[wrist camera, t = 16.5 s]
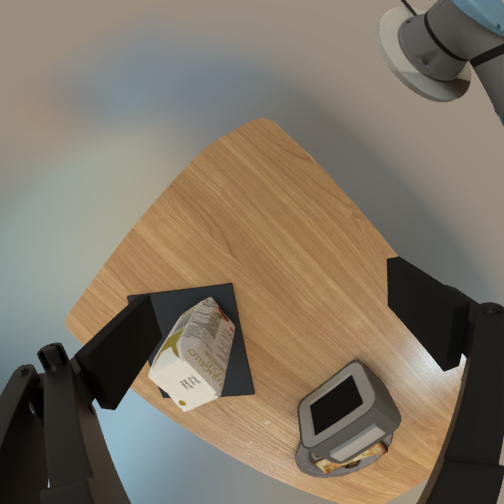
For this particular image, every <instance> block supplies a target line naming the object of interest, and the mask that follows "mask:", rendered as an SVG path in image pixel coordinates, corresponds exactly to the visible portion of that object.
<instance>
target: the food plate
mask: <svg viewBox="0 0 504 504" xmlns="http://www.w3.org/2000/svg"><path fill="white" fill-rule="evenodd" d="M392 438H393V433H392V434H390V435H389V436H388V437H386V438H385V439H383V440H382V441H380V442H379V443H377V444H376V445H374V446H373V447H371V448H369V449H368V450H366V451H365V452H363V453H361V454H360V455H358V456H357V457H355V458H353V459H351V460H350V461H348V462H346V463H343V464H336V463H333V462H330V461H328V460H326V459H324V458H322V457H320V456H318V455H316V454H314V453H312V452H310V451H309V450H307V449H305V448H303V446H302V444H301V446H300V448H299V451H298V452H297V454H296V461H295V462H296V464H297V466H298V467H299V469H300V471H301V472H302V473H305V474H308V475H309V476H313V477H317V478H328V477H337V476H338V477H340V476H341V475H342V476H344V475H347V474H350V473H353V472H355V471H358V469H359V470H360V469H362V468H364V467H367V466H368V465H370V464H372V463H373V462H375V461H376V460H377V459H379V457H380V456H381V455H383V454H386V452H388V447H389V445H390V444H391V442H392Z"/></svg>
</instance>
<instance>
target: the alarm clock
mask: <svg viewBox="0 0 504 504" xmlns="http://www.w3.org/2000/svg"><path fill="white" fill-rule="evenodd" d="M297 413H298V421H299V430H300V439H301V444H302V446H303V448H305V449H307V450H309V451H310V452H312V453H314V454H316V455H318V456H320V457H322V458H324V459H326V460H328V461H330V462H333V463H336V464H343V463H346V462H348V461H350V460H351V459H353V458H355V457H357V456H358V455H360V454H361V453H363V452H365V451H366V450H368V449H369V448H371V447H373V446H374V445H376V444H377V443H379V442H380V441H382V440H383V439H385V438H386V437H388V436H389V435H390V434H392V433H393V432H394V431H395V430H396V429H397V428H398V427H399V425H400V422H401V415H400V413H399V410H398V408H397V407H396V405H395V403H394V401H393V399H392V397H391V395H390V393H389V391H388V390H387V388H386V386H385V384H384V383H383V382H382V381H381V380H380V379H379V378H378V377H376V376H375V375H374V374H373V373H372V372H371V371H370V370H369V369H368V368H367V367H366V366H365V365H363V364H362V363H361V362H360V361H352V362H351V363H349V364H347V365H346V366H345V367H344V368H342V369H341V370H340V371H339V372H337V373H336V374H335V375H333V376H332V377H331V378H330V379H328V380H327V381H326V382H324V383H323V384H322V385H320V386H319V387H318V388H316V389H315V390H314V391H312V392H311V393H310V394H308V395H307V396H306V397H305V398H304V399H303V400H302V401H301V402H300V404H299V406H298V411H297Z"/></svg>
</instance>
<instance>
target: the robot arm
mask: <svg viewBox="0 0 504 504" xmlns="http://www.w3.org/2000/svg"><path fill="white" fill-rule="evenodd" d="M401 1H402V2H403V3H404V4H405V6H406V7H407V8H408V9H409V10H410V12H411V13H412V14H413V15H414V16H413V17H410V18H408V19H406V20H405V21H404V22H403V23H402V24H401V25H400V27H399V29H398V41H399V45H400V47H401V50H402V52H403V53H404V55H405V56H406V58H407V59H408V61H409V62H410V63H411V64H412V65H413V66H414V67H415V68H416V69H417V70H418V71H419V72H420V73H422V74H423V75H425V76H426V77H428V78H430V79H432V80H434V81H438V82H449V81H451V80H453V79H455V78H457V77H458V76H459V75H460V74H461V72H463V71H464V70H465V69H463V68H464V67H465V65H466V64H467V62H468V61H469V62H470V64H471V65H472V67H473V69H474V70H475V72H476V74H477V76H478V77H479V79H480V81H481V83H482V84H483V86H484V88H485V90H486V92H487V94H488V96H489V98H490V100H491V102H492V104H493V106H494V109H495V112H496V113H497V115H498V116H499V118H500V120H501V122H502V124H503V126H504V4H503V2H502V1H501V0H438V1H437V2H436V3H435V4H434V5H433V6H432V7H431V8H430V9H429V10H428V11H427V12H426V13H423V14H420V15H417V13H416V12H415V11H414V10H413V9H412V7H411V6H410V5H409V4H408V3H407V2H406V1H405V0H401ZM387 281H388V306H389V308H390V309H391V310H392V311H393V312H394V313H395V314H396V315H397V317H398V318H399V319H400V320H401V321H402V322H403V323H404V325H405V326H406V327H407V328H408V329H409V330H410V331H411V333H412V334H413V335H414V336H415V337H416V338H417V340H418V341H419V342H420V343H421V344H422V346H423V347H424V348H425V349H426V350H427V352H428V353H429V354H430V355H431V356H432V358H433V359H434V360H435V361H436V362H437V364H438V365H439V366H440V367H441V369H442V370H443V371H447V370H450V369H452V368H455V367H457V366H459V364H460V359H461V355H462V353H463V354H464V355H465V356H466V357H467V360H466V364H465V368H464V372H463V376H462V380H461V381H462V383H461V387H460V391H459V395H458V399H457V403H456V406H455V410H454V413H453V416H452V420H451V423H450V426H449V429H448V432H447V435H446V438H445V441H444V443H443V446H442V449H441V451H440V454H439V456H438V459H437V461H436V464H435V466H434V468H433V471H432V473H431V475H430V477H429V480H428V482H427V484H426V486H425V488H424V490H423V492H422V494H421V496H420V498H419V500H418V502H417V504H496V503H497V499H498V496H499V493H500V489H501V485H502V481H503V476H504V466H502V465H499V459H500V454H501V448H502V443H503V437H504V307H503V306H501V305H499V304H497V303H491V302H489V303H482V304H479V303H477V302H476V301H474V300H473V299H471V298H470V297H468V296H466V295H465V294H464V293H461V291H459V290H458V289H456V288H454V287H451V286H448V285H443V284H442V283H440V282H439V281H437V280H436V279H434V278H432V277H431V276H429V275H428V274H426V273H425V272H423V271H422V270H420V269H418V268H417V267H415V266H414V265H412V264H410V263H409V262H407V261H406V260H404V259H402V258H401V257H394V258H388V259H387ZM162 337H163V336H162V333H161V330H160V327H159V324H158V321H157V318H156V315H155V311H154V308H153V305H152V301H151V298H150V294H149V295H141V296H137V297H136V298H135V299H134V300H133V301H132V302H131V303H130V304H128V305H127V306H126V307H125V308H124V309H123V310H122V311H121V312H120V313H119V314H118V315H116V316H115V317H114V318H113V319H112V320H111V321H110V322H109V323H108V324H107V325H106V326H105V327H103V328H102V329H101V330H100V331H99V332H98V333H97V334H96V335H95V336H94V337H93V338H92V339H91V340H90V341H89V342H88V343H87V344H86V345H84V346H83V347H82V348H81V349H80V350H79V351H78V352H77V353H76V354H75V355H74V357H73V358H72V359H71V360H70V361H69V359H68V356H67V354H66V352H65V350H64V348H63V345H62V344H61V343H52V344H49V345H46V346H44V347H43V348H41V349H40V350H39V351H38V353H37V355H38V358H39V360H40V362H41V363H42V366H43V368H44V370H45V373H41V374H38V373H37V371H36V369H35V368H34V366H33V365H31V364H28V365H22V366H20V367H18V369H17V370H15V371H14V373H13V374H12V376H11V378H10V379H9V381H8V383H7V385H6V386H5V388H4V390H3V392H2V394H1V396H0V504H131V502H130V500H129V498H128V496H127V494H126V492H125V490H124V487H123V485H122V483H121V481H120V478H119V476H118V474H117V471H116V469H115V466H114V464H113V461H112V459H111V456H110V453H109V451H108V448H107V445H106V442H105V439H104V436H103V434H102V430H101V427H100V424H99V421H98V417H97V414H96V411H95V408H94V407H93V405H92V402H93V400H94V399H95V398H96V400H97V402H98V403H99V405H100V407H101V408H103V409H110V410H115V409H116V408H117V406H118V405H119V403H120V401H121V400H122V398H123V397H124V395H125V394H126V392H127V390H128V389H129V388H130V386H131V384H132V383H133V381H134V380H135V378H136V377H137V375H138V374H139V372H140V371H141V369H142V368H143V366H144V365H145V363H146V362H147V360H148V359H149V357H150V355H151V354H152V352H153V351H154V349H155V348H156V346H157V345H158V343H159V342H160V340H161V339H162ZM30 408H31V409H30ZM31 410H32V411H33V413H32V411H31ZM48 479H49V483H50V488H48Z"/></svg>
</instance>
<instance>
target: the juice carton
mask: <svg viewBox="0 0 504 504" xmlns="http://www.w3.org/2000/svg"><path fill="white" fill-rule="evenodd" d="M234 331H235V325H234V324H233V323H232V322H231V320H230V319H229V318H228V317H227V316H226V315H225V314H224V313H223V311H222V310H221V309H220V307H219V306H218V304H217V303H216V302H215V301H214V299H213V298H212V297H209V298H207V299H205V300H203V301H201V302H200V303H198V304H197V305H195V306H194V307H192V308H191V309H189V310H188V311H186V312H185V313H183V314H182V315H181V316H180V318H179V319H178V321H177V322H176V324H175V326H174V327H173V329H172V330H171V332H170V334H169V335H168V337H167V338H166V340H165V342H164V343H163V345H162V346H161V348H160V350H159V351H158V353H157V355H156V356H155V358H154V361H153V363H152V366H151V369H150V372H149V375H148V377H149V378H150V379H151V380H152V381H153V382H154V383H155V384H156V385H158V386H159V387H160V388H161V389H163V390H164V391H165V392H166V393H168V394H169V396H170V397H171V398H172V399H173V401H174V402H175V403H176V404H177V405H178V406H179V407H180V408H181V409H182V411H183V412H185V411H191V410H193V409H195V408H196V407H198V406H201V405H203V404H205V403H207V402H210V401H213V400H216V399H217V397H219V396H221V392H222V389H223V384H224V380H225V375H226V370H227V365H228V361H229V356H230V351H231V346H232V342H233V337H234Z"/></svg>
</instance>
